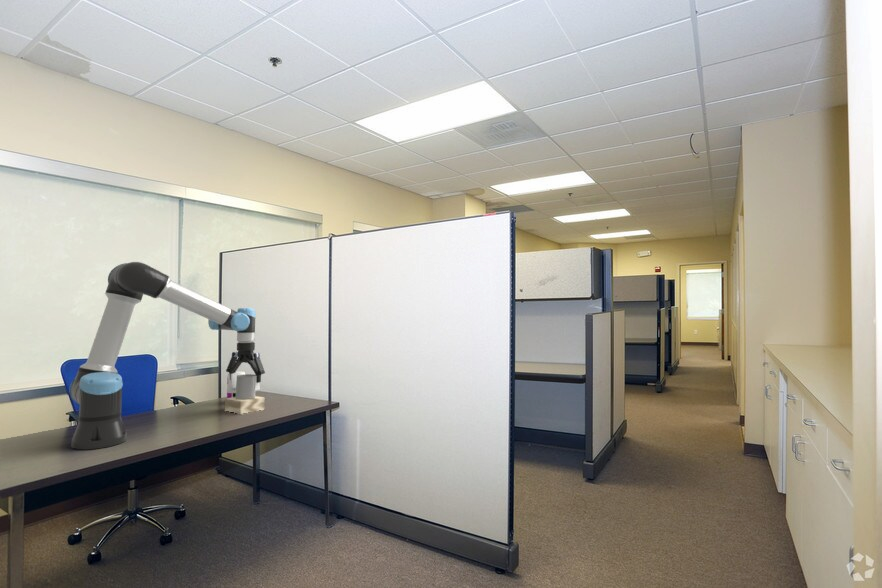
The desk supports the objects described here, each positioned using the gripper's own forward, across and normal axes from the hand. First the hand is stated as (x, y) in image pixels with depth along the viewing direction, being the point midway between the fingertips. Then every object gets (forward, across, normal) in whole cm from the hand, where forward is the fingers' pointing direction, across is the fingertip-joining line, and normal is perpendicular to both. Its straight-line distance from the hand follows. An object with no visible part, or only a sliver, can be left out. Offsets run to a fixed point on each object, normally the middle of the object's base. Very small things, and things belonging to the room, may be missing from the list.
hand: (245, 388), depth 206 cm
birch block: (+10, 0, 0) cm, 10 cm away
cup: (+4, 0, 0) cm, 4 cm away
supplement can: (+10, +16, -11) cm, 22 cm away
